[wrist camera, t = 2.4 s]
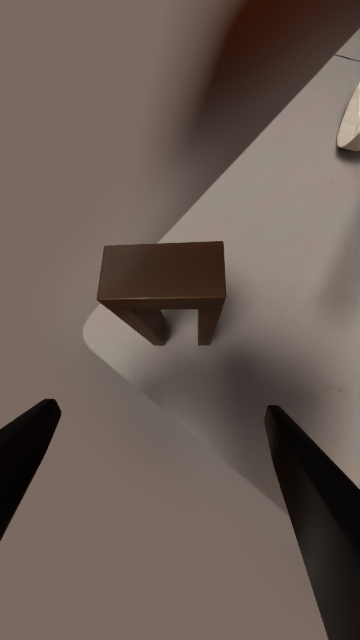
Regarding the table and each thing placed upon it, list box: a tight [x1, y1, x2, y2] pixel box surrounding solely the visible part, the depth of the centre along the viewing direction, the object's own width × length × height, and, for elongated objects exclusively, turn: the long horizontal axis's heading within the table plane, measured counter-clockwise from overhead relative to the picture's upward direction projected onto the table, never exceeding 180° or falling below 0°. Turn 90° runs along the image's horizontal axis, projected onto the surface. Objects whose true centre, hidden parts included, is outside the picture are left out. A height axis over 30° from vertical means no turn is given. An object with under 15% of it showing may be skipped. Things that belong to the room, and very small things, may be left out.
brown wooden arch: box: [97, 241, 226, 345], centre depth 16 cm, size 3×6×13 cm, turn 89°
